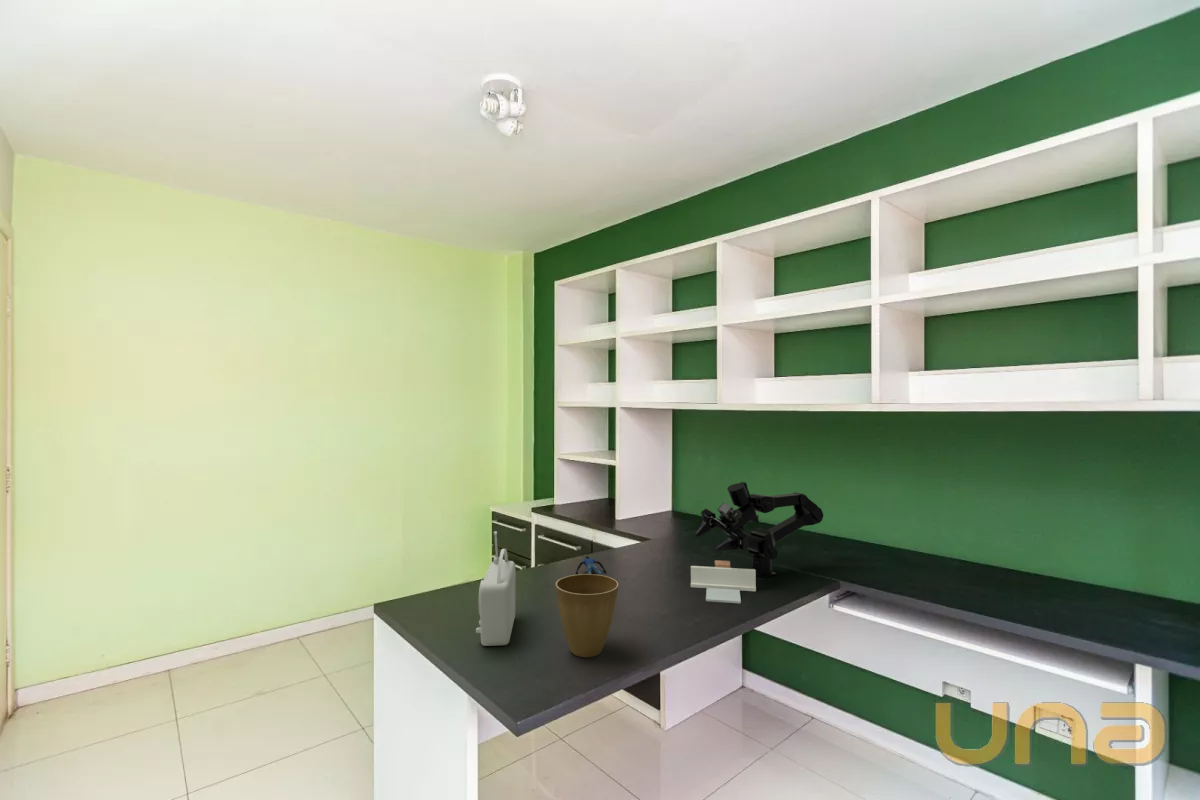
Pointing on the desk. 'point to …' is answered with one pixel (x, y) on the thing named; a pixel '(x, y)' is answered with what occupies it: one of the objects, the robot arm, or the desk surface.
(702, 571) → the off-white ledge rack
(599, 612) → the plant pot
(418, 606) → the desk surface
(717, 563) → the plain cardboard-brown cube
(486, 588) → the radio
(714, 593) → the pad
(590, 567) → the person figurine
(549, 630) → the desk surface
